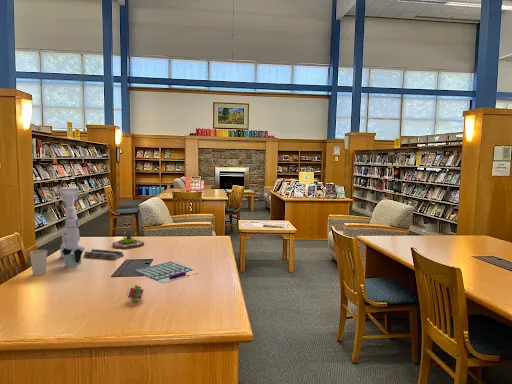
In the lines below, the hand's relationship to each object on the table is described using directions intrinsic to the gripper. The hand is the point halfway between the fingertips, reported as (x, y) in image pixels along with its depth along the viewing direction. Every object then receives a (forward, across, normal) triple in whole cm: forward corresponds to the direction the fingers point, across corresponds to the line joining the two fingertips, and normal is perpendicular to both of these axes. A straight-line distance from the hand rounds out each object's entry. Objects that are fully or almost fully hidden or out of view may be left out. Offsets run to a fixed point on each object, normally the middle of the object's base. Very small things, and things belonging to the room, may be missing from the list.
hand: (73, 261), depth 211 cm
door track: (+2, +5, +21) cm, 22 cm away
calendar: (+3, +59, +5) cm, 59 cm away
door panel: (+2, 0, 0) cm, 2 cm away
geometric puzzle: (+2, +64, -37) cm, 74 cm away
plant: (+2, +2, +51) cm, 51 cm away
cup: (+2, -6, -18) cm, 19 cm away
